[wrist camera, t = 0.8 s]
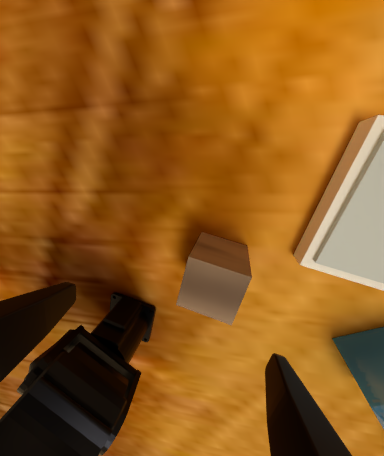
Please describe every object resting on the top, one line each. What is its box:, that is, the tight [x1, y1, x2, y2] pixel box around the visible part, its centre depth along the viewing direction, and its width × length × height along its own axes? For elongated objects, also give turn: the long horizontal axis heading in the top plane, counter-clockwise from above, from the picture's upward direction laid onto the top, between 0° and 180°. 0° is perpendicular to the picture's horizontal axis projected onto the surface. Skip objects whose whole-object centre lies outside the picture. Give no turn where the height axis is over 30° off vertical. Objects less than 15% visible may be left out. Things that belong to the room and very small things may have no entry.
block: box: [176, 232, 252, 325], centre depth 17 cm, size 5×5×6 cm
